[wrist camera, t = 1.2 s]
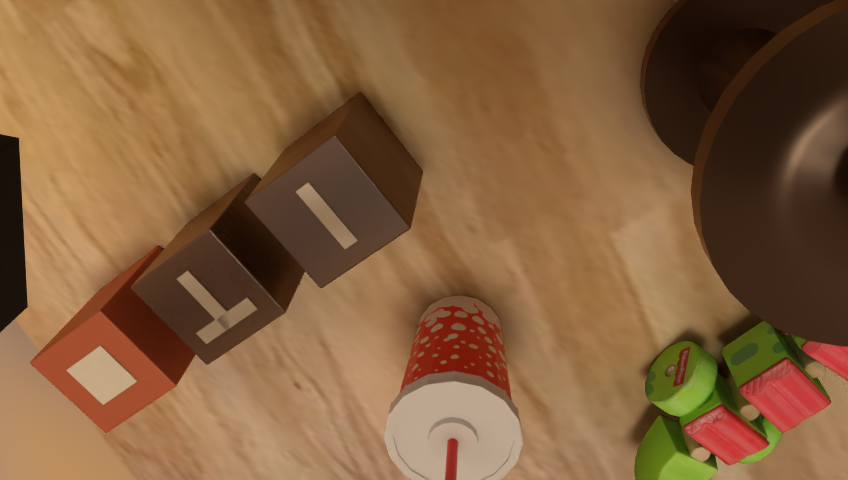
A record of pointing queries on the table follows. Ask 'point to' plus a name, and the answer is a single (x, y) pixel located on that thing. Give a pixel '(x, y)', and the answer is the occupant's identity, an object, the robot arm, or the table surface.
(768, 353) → the toy crocodile
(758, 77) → the candlestick
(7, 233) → the robot arm
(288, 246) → the tile
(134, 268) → the orange red block
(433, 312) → the beverage cup
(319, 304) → the table surface
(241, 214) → the tile
